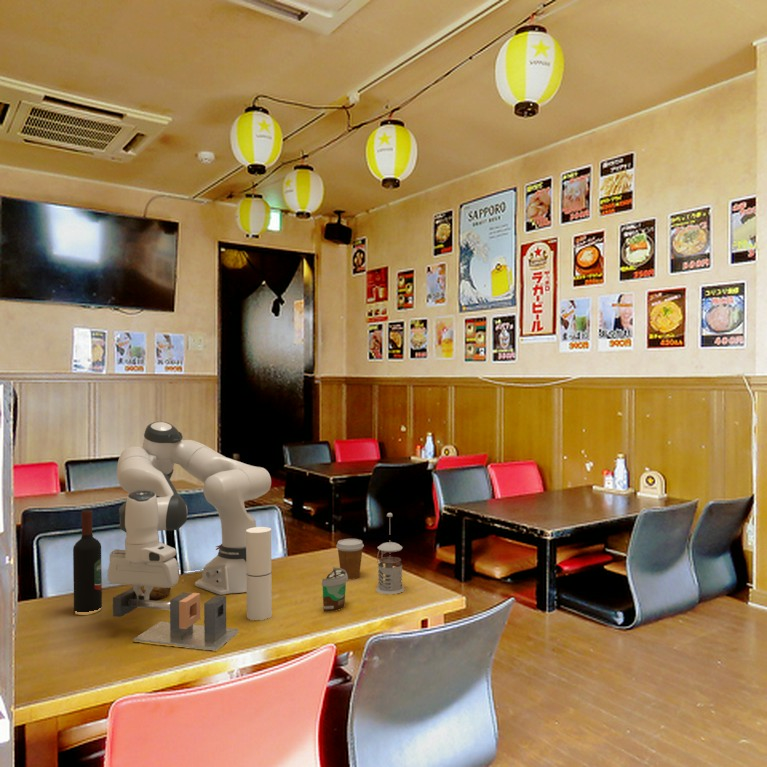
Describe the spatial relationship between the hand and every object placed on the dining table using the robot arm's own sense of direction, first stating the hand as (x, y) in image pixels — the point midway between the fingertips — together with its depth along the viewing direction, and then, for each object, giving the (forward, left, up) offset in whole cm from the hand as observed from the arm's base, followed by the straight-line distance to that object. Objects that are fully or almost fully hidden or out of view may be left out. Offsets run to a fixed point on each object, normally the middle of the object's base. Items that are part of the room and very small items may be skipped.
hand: (143, 600), depth 172 cm
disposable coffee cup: (+26, +65, -8) cm, 71 cm away
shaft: (+6, -1, -2) cm, 7 cm away
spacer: (+16, +1, -4) cm, 17 cm away
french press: (+44, +60, -8) cm, 75 cm away
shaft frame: (+15, +1, -8) cm, 17 cm away
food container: (+38, +39, -8) cm, 55 cm away
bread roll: (-19, +18, -8) cm, 27 cm away
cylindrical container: (+22, +22, -8) cm, 32 cm away
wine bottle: (-26, +1, -8) cm, 27 cm away
